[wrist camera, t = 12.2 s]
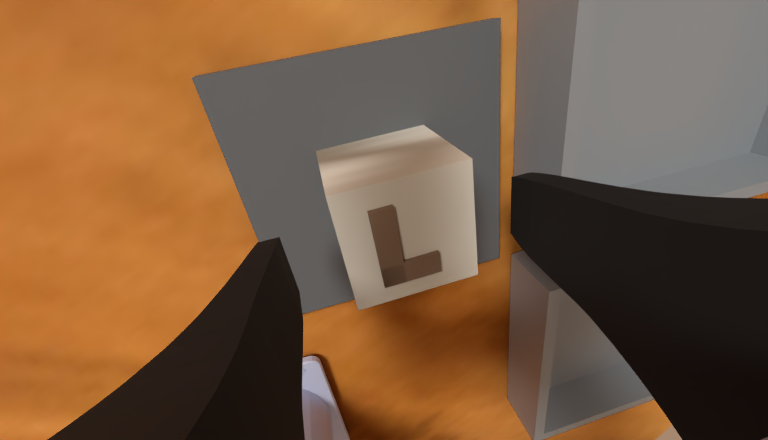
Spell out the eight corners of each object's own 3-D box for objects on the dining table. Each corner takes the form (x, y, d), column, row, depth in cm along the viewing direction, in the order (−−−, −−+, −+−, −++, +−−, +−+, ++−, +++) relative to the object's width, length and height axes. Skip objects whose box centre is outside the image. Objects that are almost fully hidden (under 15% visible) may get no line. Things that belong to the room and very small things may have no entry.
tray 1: (512, 219, 17) (553, 254, 14) (521, -120, 11) (596, -169, 8) (742, 157, 18) (816, 177, 16) (863, -169, 12) (1017, -223, 10)
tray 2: (507, 397, 24) (533, 442, 21) (511, 253, 18) (549, 291, 15) (673, 341, 25) (717, 376, 23) (729, 191, 19) (797, 216, 17)
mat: (289, 308, 16) (289, 317, 15) (196, 75, 11) (192, 78, 10) (492, 251, 17) (499, 257, 17) (491, 18, 12) (500, 18, 12)
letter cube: (342, 243, 14) (359, 314, 11) (315, 150, 12) (326, 199, 9) (434, 218, 15) (480, 277, 11) (423, 124, 13) (475, 160, 9)
